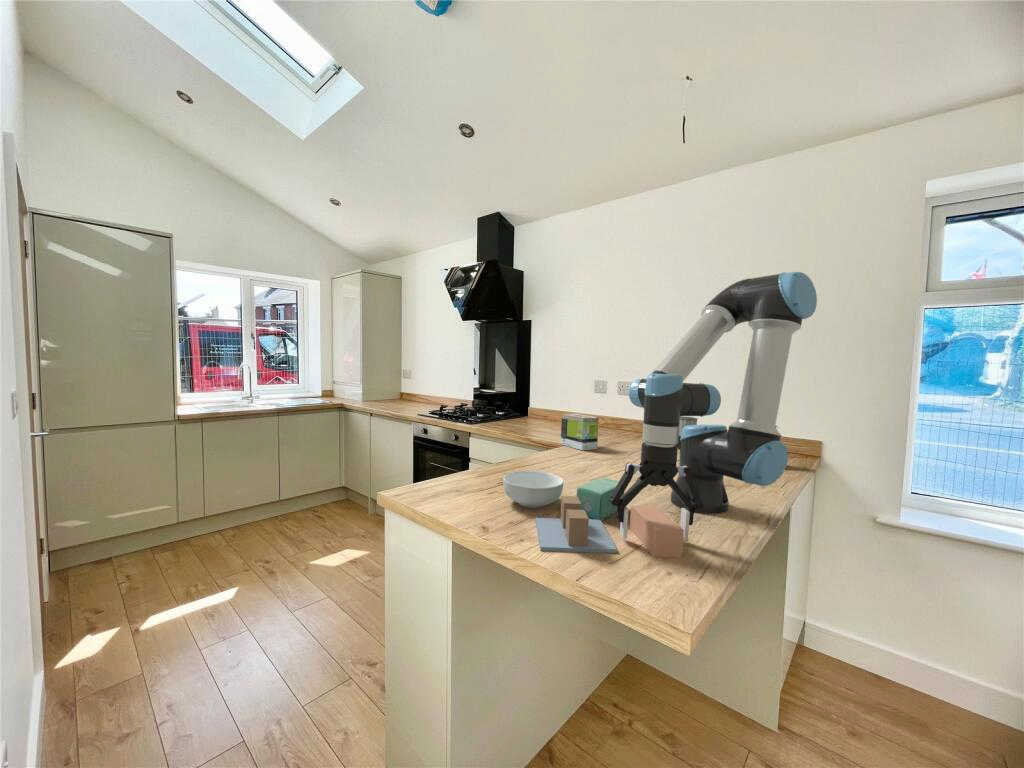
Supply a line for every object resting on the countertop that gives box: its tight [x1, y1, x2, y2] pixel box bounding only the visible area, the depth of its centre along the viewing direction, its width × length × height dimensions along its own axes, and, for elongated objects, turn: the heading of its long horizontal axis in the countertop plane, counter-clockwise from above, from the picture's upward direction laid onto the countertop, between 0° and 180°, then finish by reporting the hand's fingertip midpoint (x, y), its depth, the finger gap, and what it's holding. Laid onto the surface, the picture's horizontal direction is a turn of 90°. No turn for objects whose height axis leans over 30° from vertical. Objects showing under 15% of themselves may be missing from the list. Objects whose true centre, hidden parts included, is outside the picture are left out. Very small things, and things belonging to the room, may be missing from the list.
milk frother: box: [675, 416, 699, 450], centre depth 201 cm, size 14×16×15 cm
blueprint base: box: [535, 495, 618, 554], centre depth 95 cm, size 16×16×7 cm
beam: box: [629, 505, 684, 558], centre depth 93 cm, size 6×14×6 cm, turn 4°
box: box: [576, 477, 625, 522], centre depth 112 cm, size 7×14×8 cm, turn 139°
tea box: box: [560, 413, 600, 451], centre depth 194 cm, size 15×10×15 cm
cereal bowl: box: [502, 470, 564, 509], centre depth 116 cm, size 17×17×7 cm
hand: (653, 537), depth 93 cm, fingers open, 13 cm apart
